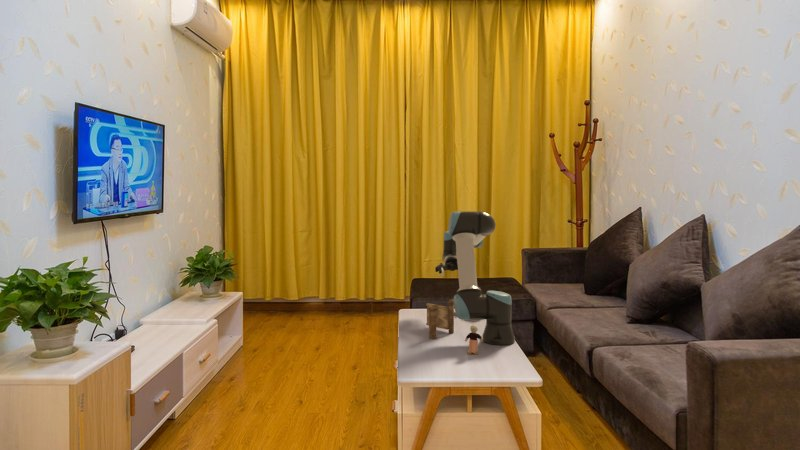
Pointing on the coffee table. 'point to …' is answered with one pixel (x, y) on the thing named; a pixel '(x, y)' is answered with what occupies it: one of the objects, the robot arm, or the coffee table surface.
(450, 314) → the hinge post
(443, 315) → the gate
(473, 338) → the grandmother figurine
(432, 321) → the latch post
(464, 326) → the coffee table surface
